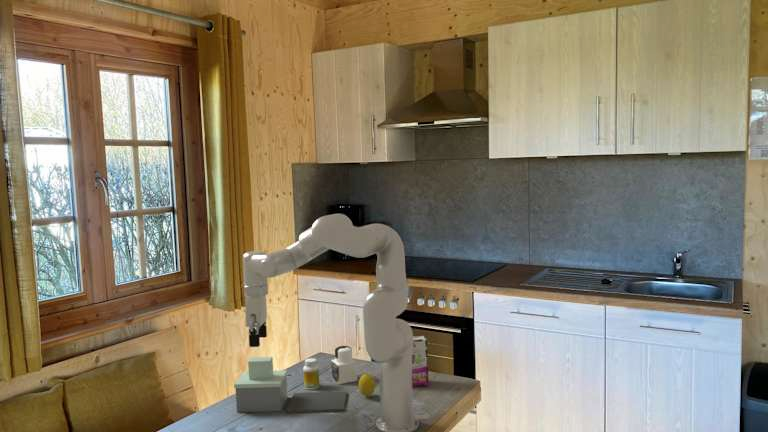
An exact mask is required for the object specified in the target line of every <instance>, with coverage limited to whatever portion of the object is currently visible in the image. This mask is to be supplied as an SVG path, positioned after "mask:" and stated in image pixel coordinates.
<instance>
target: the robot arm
mask: <svg viewBox="0 0 768 432" xmlns="http://www.w3.org/2000/svg"><path fill="white" fill-rule="evenodd" d="M328 250H332V251H335V252H338V253H341V254H344V255H346V256H350V257H352V258H359V259H360V258H361V259H363V258H367V257H370V256H372V255H375V254H376V256H377V257H376V258H377V260H376V267H375V274H376V275H375V277H376V288H375V289H374V290H372V291H370V292H369V293H368V294H367V296H366V297H365V299H364V303H363V309H362V314H363V315H362V317H363V335H364V344H365V345H364V346H365V349H366V352H367V354H368V355H369V357H370V358H371V360H373V361H375V362H376V363H379V364H378V365H379V367H378V368H379V370H378V371H379V372H378V373H379V397H380V398H379V400H380V401H379V402H380V403H379V404H380V417H378V418H377V420H376V422H375V427H376V429H377V430H378V431H379V432H414V431H416V430H417V429H418V428H419V426H420V422H421V421H422V422H428V421H430V414H429V413H425V411H424V410H423V411H420V410H419V411H417V410H415V406H414V399H413V398H414V397H413V395H414V393H413V390H414V389H413V387H412V350H413V337H414V333H413V330H412V327H411V326H410V324H409V323H408V322H407V321H406V320H404V319H403V318H402V319H401V318H397V317H398V316H400V315H401V314H402V313H404V311H405V310H406V308H407V306H408V291H407V290H408V289H407V288H408V287H407V274H406V259H405V257H406V256H405V254H406V253H405V246H404V243H403V241H402V238H401V236H400V235H399V234H398V232H397V231H396V230H394V228H392V227H390V226H389V225H386V224H384V223H370V224H366V225H363V226H355V225H353V222H352V220H351V219H350V218H349V217H348V216H347V215H346V214H343V213H333V214H328V215H323V216H321V217H318V218H317V219H316V220H315V221H314V222H313V224H312V226H311V227H308V229H306V230H303V232H301V233H300V234H299V237H298V240H297V241H296V242H294V243H292V244H291V245H290V246H287V247H286V248H284V249H283V248H282V249H281V250H276V251H272V252H269V253H266V252H265V251H258V250H253V251H252V250H251V251H247V252H244V254H243V255H242V270H243V271H242V273H243V291H244V292H243V294H244V296H245V318H244V319H245V327H246V328H248V345H249V348H260V345H261V343H260V341H261V340H260V339H261V338H267V337H268V333H267V321H266V320H267V318H268V317H267V315H268V314H267V312H268V311H267V310H268V308H267V297H266V296H268V295H269V281H268V280H269V279H268V278H276V277H279V276H281V275H284V274H287V273H291V272H293V271H294V270H296V269H298V268H299V267H301V266H304V265H305V264H307V263H309V262H310V261H311V260H313V259H315V258H317V257H318V256H320V255H321V254H323V253H325V252H327V251H328Z"/></svg>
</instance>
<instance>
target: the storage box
mask: <svg viewBox="0 0 768 432" xmlns="http://www.w3.org/2000/svg"><path fill="white" fill-rule="evenodd" d="M287 381H288V380H287V376H286V377H285V379H284V381H283V383H282V385H281V387H259V388H235V398H236V401H235V403H236V412H237V413H250V412H251V413H256V412H257V413H258V412H259V413H261V412H281V411H282V410H283V407H284V406H285V404H286V401H287V399H288V382H287Z"/></svg>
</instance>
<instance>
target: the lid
mask: <svg viewBox="0 0 768 432" xmlns="http://www.w3.org/2000/svg"><path fill="white" fill-rule="evenodd" d="M273 361H274V360H273V356H257V357H255V356H254V357H253V356H252V357H250V359H249V360H248V361H247V363H248V364H247V366H248V371H247V370H245V371H244V370H243V372H242V373H241V374H240V376H239V378H237V380H236V381H235V383H234V384H233V387H234V389H236V388H259V387H281V385H282V383H283V381H284V379H285V377H286V378H287V375H288V369H285V370H283V369H282V370H281V369H280V370H278V369H276V370H274V362H273Z"/></svg>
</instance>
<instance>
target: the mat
mask: <svg viewBox="0 0 768 432" xmlns="http://www.w3.org/2000/svg"><path fill="white" fill-rule="evenodd" d="M347 397H348V391H323V392H322V391H320V392H319V391H316V392H315V391H314V392H293V394H292V396H291V399H290V402H289V403H288V406H287V408H286V409H285V412H286V414H292V413H293V414H294V413H296V414H298V413H330V412H331V413H332V412H334V413H335V412H344V409H345V405H346V401H347Z"/></svg>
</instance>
